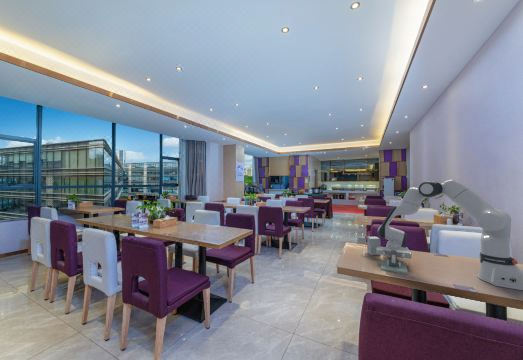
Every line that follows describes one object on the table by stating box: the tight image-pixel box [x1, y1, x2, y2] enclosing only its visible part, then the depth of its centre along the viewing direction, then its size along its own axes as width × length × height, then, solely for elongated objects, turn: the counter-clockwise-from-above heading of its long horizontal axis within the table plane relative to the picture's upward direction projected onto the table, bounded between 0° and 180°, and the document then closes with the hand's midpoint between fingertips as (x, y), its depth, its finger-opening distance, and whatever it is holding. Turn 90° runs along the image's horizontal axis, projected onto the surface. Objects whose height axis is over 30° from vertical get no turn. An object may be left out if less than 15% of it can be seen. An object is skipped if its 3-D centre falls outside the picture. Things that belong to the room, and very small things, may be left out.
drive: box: [390, 250, 398, 267], centre depth 143 cm, size 6×3×9 cm, turn 150°
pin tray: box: [380, 259, 409, 275], centre depth 143 cm, size 18×14×4 cm
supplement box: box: [366, 236, 382, 256], centre depth 170 cm, size 7×7×13 cm
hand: (393, 255), depth 142 cm, fingers open, 8 cm apart
